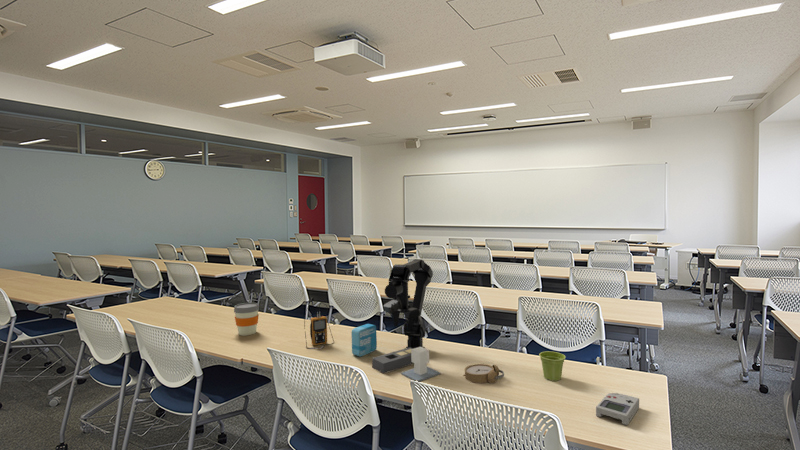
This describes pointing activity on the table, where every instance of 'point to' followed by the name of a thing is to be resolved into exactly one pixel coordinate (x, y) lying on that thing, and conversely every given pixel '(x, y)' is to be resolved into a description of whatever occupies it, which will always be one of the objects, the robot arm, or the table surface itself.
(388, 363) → the block
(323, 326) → the multimeter
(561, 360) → the plant pot
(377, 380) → the table surface
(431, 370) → the mat
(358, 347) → the data package
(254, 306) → the reusable coffee cup
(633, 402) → the handheld gaming device
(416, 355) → the plug
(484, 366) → the alarm clock
